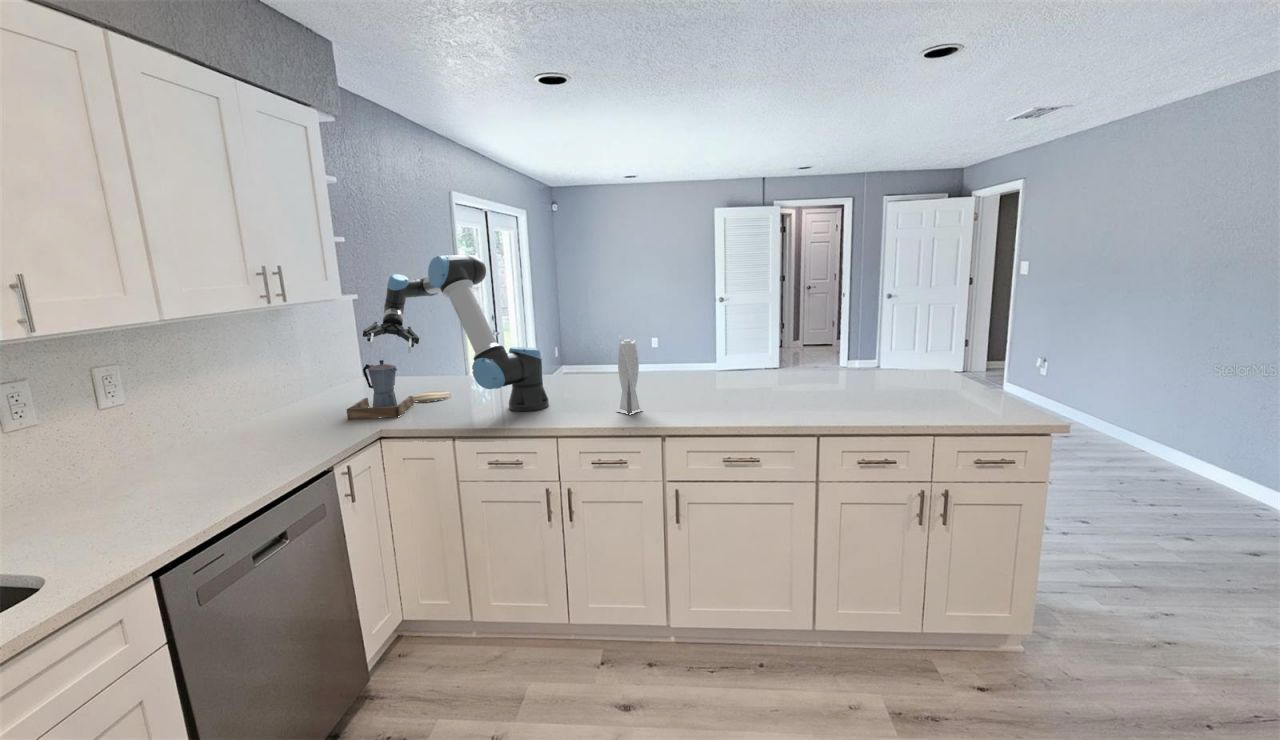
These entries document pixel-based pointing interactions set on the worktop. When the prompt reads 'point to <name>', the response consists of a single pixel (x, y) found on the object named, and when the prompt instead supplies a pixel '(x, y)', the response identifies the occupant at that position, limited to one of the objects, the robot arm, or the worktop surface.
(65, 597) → the worktop surface
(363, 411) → the frame
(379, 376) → the moka pot
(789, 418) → the worktop surface
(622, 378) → the skyscraper
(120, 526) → the worktop surface
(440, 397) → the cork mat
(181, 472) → the worktop surface
